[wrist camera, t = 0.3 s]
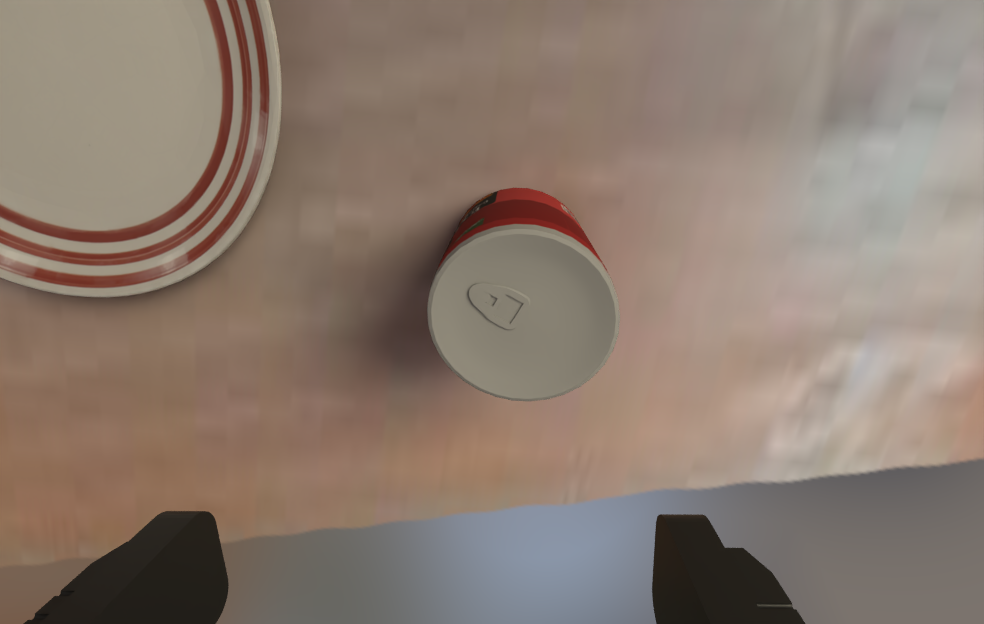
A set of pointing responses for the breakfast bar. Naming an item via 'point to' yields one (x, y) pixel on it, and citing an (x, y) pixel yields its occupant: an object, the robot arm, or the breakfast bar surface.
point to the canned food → (522, 299)
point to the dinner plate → (131, 138)
